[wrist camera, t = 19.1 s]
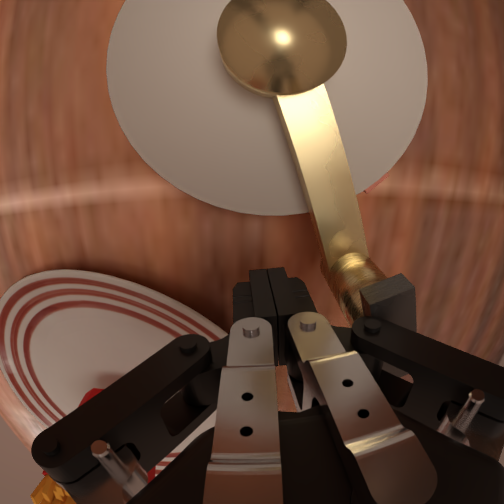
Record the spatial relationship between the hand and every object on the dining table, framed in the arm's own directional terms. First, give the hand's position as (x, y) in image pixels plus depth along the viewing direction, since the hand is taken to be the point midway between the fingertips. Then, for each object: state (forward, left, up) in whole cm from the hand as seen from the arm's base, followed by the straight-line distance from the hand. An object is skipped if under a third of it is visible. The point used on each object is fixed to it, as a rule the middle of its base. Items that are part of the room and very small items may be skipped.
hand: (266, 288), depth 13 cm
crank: (-3, +5, -2) cm, 6 cm away
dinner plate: (+3, -19, -7) cm, 20 cm away
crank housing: (-8, +7, -7) cm, 12 cm away
